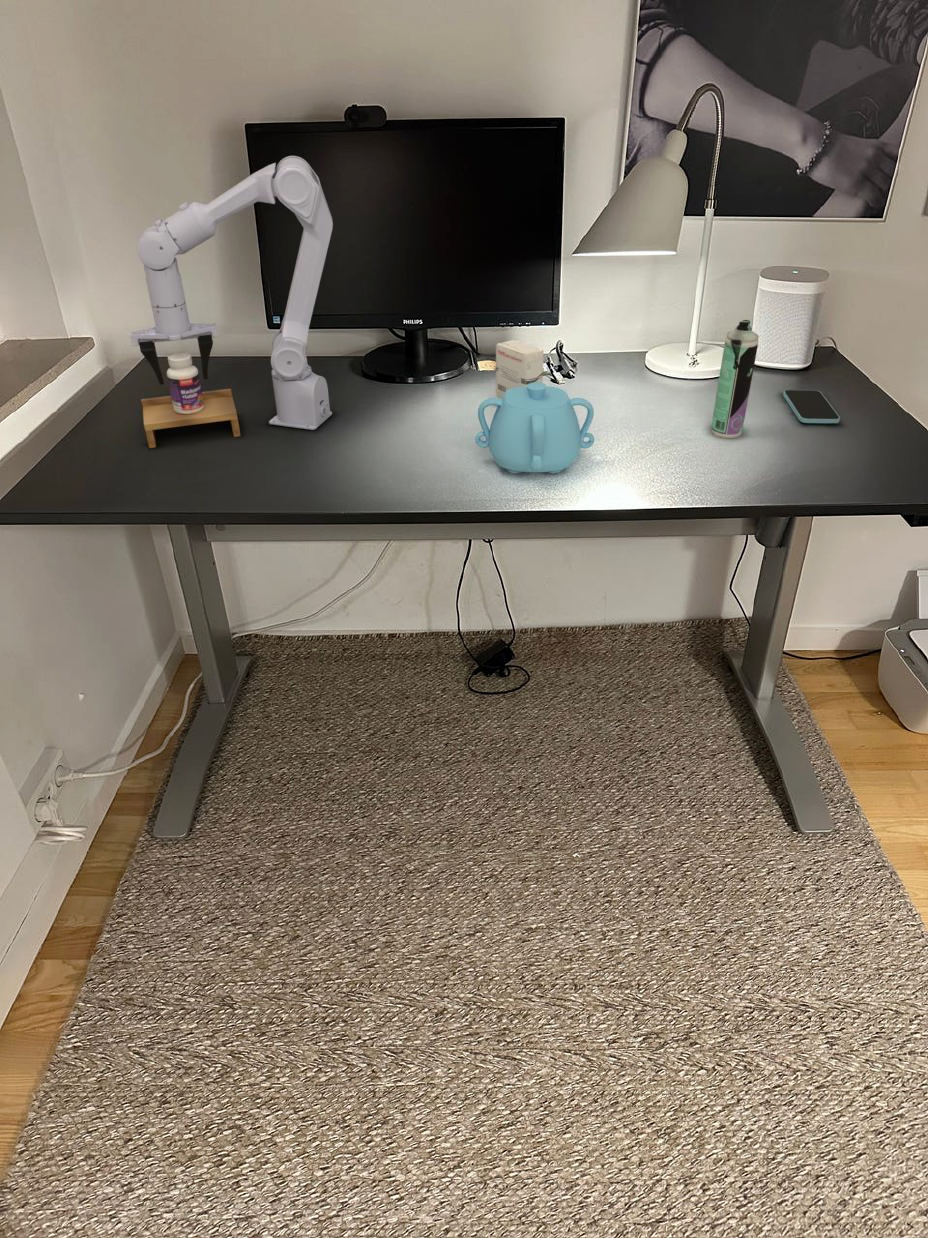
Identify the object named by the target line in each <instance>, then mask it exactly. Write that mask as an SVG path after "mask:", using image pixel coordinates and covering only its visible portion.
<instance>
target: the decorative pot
mask: <svg viewBox="0 0 928 1238" xmlns="http://www.w3.org/2000/svg"><path fill="white" fill-rule="evenodd" d="M490 406H497V407H496V409H495V411H494V414H493V416H492V419H491V423H490V428H489V425H488V423H487V421H486V416H485V409H486V408H487V407H490ZM574 406H581V407H584V408H585V409H586V410H587V413H586V417H585V421H584V422H583V424H582V426H581V427H580V422H579V419H578V415H577V413H576V410H575V408H574ZM594 415H595V411H594V407H593V404H592V403H591V402H590V401H589V400H587V399H585V398H583V397H573V398H570V397H569V395H568V393H567V392H566V391H565V390H564V389H563V388H559V387H555V386H547V384H545V383H544V382H543V383H539V382H533V383H530V384H528V385H527V386H522V387H515V388H511V389H509V390H507V391H506V392H505V394H504V395H503V397H502V399H499V398H496V397H490V398H486V399H485V400H483V401H482V402H481V403H480V404H479V405H478V409H477V417H478V421H479V425H480V427H481V430H482V431H479V432H478V433H476V435H475V437H474V438H475V439H474V441H475V444H476V445H477V446H478V447H480V448H482V449H487V448H488V449H489V452H490V454H491V456H492V458H493V459H494V461H495V462H496V464H497V465H498V466H500V467H501V468H503V469H506V470H507V472H509V473H511V474H520V473H523V472H524V473H549V474H559V473H561V472H562V470H564V469H568V468H569V467H571V466H572V465H573V464H574V463H575V461H576V459H577V458H578V457H579V455H580V453H581V449H589V448H592V446H593V445H594V443H595V436H594V435H593V434H592V432H588V430H589V429H590V427H591V425H592V422H593V419H594ZM482 437H485V440H482V439H481V438H482ZM585 438H588V440H587V441H585Z"/></svg>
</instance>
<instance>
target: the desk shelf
mask: <svg viewBox="0 0 928 1238" xmlns="http://www.w3.org/2000/svg"><path fill="white" fill-rule="evenodd" d="M202 396H203V401H204V408H203V409H202V410H201V411H199V412H196V413H192V414H180V413H177V412H175V411H174V408H173V404H172V399H171V395H165V396H157V397H156V396H155V397H149V398H141V400H140V401H141V405H142V417H143V419H142V420H143V427H144V431H145V436H146V440H147V444H148V448H149V449H152V448H154V449H155V448H157V440H156V430H163V429H171V428H178V427H185V426H193V425H201V424H210V423H216V422H226V421H229V424H230V427H231V431H232V435H233V438H236V437H241V430H240V424H239V419H238V413H237V409H236V405H235V400H234V398H233V392H232V388H224V389H215V390H208V391H207V390H206V391H202Z"/></svg>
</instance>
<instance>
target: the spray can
mask: <svg viewBox="0 0 928 1238" xmlns="http://www.w3.org/2000/svg"><path fill="white" fill-rule="evenodd" d="M750 325H751V321H750V320H749V319H743V320H741V321H739V323H738V325H737V326H736V327H735V328H734V329H733V330H730V331H728V332H727V333H726V337H725V338H724V345H723V352H722V358H721V363H720V370H719V375H718V383H717V389H716V396H715V401H714V408H713V412H712V413H713V414H712V419H711V426H710V432H711V434H712V435H714V436H715V437H718V438H723V439H736V438H739V437H741V436H742V435H743V430H744V424H745V418H746V412H747V407H748V401H749V397H750V391H751V385H752V381H753V374H754V368H755V363H756V358H757V354H758V353H757V352H758V347H759V337H760V336H759V334H758V333H756V332H754V331H753V328H752V327H751V326H750Z"/></svg>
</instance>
